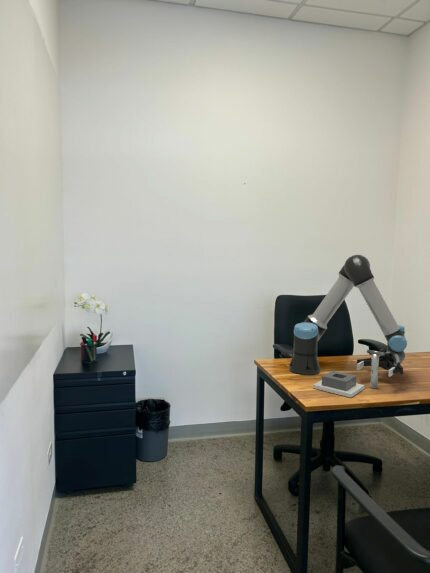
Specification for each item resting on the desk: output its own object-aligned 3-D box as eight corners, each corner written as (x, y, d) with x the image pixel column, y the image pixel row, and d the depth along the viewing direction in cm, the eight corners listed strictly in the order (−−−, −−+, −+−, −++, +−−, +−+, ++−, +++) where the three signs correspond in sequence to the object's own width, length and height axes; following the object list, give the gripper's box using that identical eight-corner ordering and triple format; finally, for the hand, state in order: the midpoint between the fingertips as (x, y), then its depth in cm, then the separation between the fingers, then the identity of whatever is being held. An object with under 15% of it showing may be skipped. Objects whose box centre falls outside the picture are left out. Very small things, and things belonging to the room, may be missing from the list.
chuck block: (313, 388, 176) (313, 375, 175) (327, 380, 187) (328, 368, 187) (351, 397, 165) (351, 384, 164) (364, 388, 176) (365, 376, 176)
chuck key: (363, 386, 179) (365, 350, 178) (366, 384, 182) (368, 348, 180) (381, 390, 174) (383, 353, 173) (383, 388, 177) (385, 351, 175)
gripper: (416, 373, 184) (403, 385, 168) (362, 363, 200) (345, 372, 184) (417, 357, 183) (404, 367, 167) (362, 348, 199) (345, 356, 183)
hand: (373, 370), depth 175 cm, fingers open, 13 cm apart
